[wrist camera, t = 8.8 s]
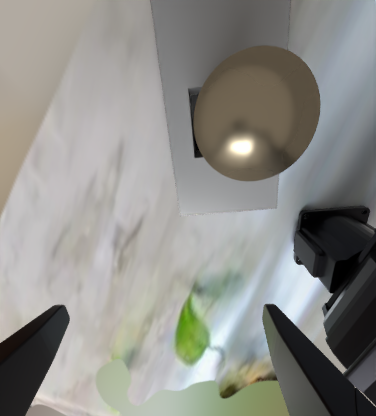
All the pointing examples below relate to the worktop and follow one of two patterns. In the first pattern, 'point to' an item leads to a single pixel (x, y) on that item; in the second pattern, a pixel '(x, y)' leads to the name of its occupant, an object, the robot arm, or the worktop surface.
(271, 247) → the worktop surface
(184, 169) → the block
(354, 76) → the worktop surface
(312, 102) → the brass plug
